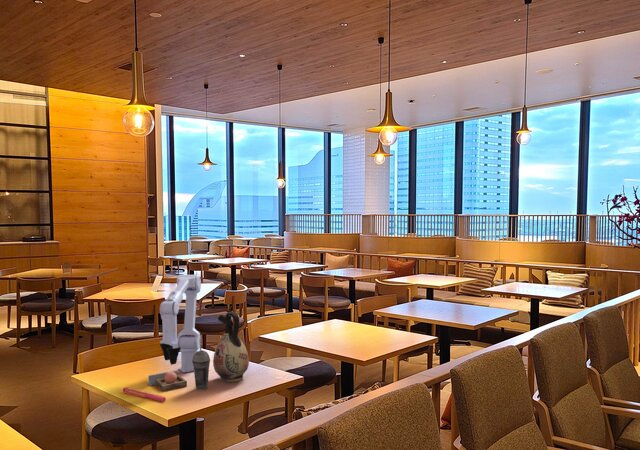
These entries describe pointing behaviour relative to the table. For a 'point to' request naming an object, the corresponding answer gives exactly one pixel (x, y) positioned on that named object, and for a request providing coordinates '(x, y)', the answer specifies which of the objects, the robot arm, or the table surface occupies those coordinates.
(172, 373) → the ball
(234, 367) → the ceramic jug
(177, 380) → the tray
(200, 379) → the beverage cup
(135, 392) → the pink long bar
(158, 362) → the table surface
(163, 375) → the partition
